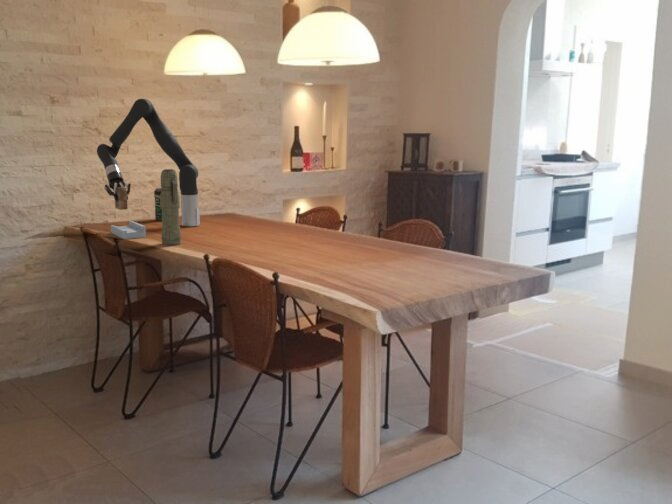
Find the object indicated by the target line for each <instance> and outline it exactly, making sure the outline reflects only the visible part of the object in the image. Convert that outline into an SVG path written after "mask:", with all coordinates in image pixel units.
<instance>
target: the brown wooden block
mask: <svg viewBox="0 0 672 504" xmlns="http://www.w3.org/2000/svg"><path fill="white" fill-rule="evenodd" d="M115 188H116V194H117V196H118V202H116V201H115V200H114V206H115V207H114V208H115V209H117V210H128V200H127V188H126V187H115Z"/></svg>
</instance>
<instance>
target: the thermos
mask: <svg viewBox="0 0 672 504" xmlns="http://www.w3.org/2000/svg"><path fill="white" fill-rule="evenodd" d="M160 188H161V189H162V190H161V195H160V207H161V209H162V221H161V227H162V228H161V231H160V232H161V235H160V236H161V240H162V241H161V243H162V245H163V246H167V247H169V246H170V247H171V246H180V245H181V244H182V242H181V240H182V230H181V227H180V212H179V211H180V210H179V209H180V208H181V207H180V206H181V201H180V194H179V190H178V174H177V172H176V170H175V169H172V168H171V169H170V168H168V169H163V170H161V173H160Z"/></svg>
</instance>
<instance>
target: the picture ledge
mask: <svg viewBox="0 0 672 504" xmlns="http://www.w3.org/2000/svg"><path fill="white" fill-rule="evenodd" d="M110 233H111V234H112V235H115V236H117V237H119V238H120V239H123V240H130V239H142V238H147V227H146V226H145V225H143V224H141V223H139V222H136V221H133V220H128V225H121V226H119V225H118V226H116V225H114V224H111V225H110Z"/></svg>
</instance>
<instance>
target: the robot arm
mask: <svg viewBox="0 0 672 504" xmlns="http://www.w3.org/2000/svg"><path fill="white" fill-rule="evenodd" d="M142 118H143V119H144V120H145V122H146V123H147V125H148V126H149V128H150V130H151V132H152V134H153V137H154V139H155V141H156V143H157V144H158V145H159V147H160V149H161V150H162V151H163V152H164V153H165V154H166V155H167V156H168V157H169V158H170V160H172V161H173V162H174V163H175V165H176V166H177V168H178V169H179V172H178V183H179V190H180V206H181V207H180V208H181V209H180V211H181V226H182V227H198V226H200V224H201V222H200V221H201V219H200V207H199V190H198V186H197V185H198V184H197V178H198V177H199V169H198V168H197V167H196V166H195V164H194V163H193V162H192V161H191V160H190V158H188V156H187V155H186V153H185V152H184V150H183V148H182V147H181V144H180V143H179V142H178V140H177V138H176V137H175V135H174V134H173V133H172V131H171V130H170V129H169V128H168V126H167V125H166V123H164V121H163V120H162V118H161V117H160V116H159V113H158V112H157V110H156V109H155V107H154V104H153V103H152V102H151V101H150V100H149V99H147V98H138V99H137V100H136V99H135V101H134V103H133V105H132V106H131V108H130V110H129V112H128V114H127V115H126V116H125V118H124V119H123V120H122V121H121V123H120V124H119V126H118V127H117V128H116V129H114V130H115V131H114V132H113V133H112V134H111V136H110V137H109V142H110V143H111V145H108V144H106V143H101V144H99V145H98V146H97V148H96V153H97V154H96V155H97V156H98V158H99V159H100V162H101V163H102V164H103V167H104V170H105V171H104V172H105V175H106V178H107V179H106V180H107V181H108V184H105V185H104V186H103V187H104V190H105V191H106V193H107V194H108V195H109V196H113V198H114V202H115V201H116V202H118V196H117V194H116V188H115V187H124V188H126V191H127V201H129V195H130V193H131V186H132V185H131V183H130V182H129V183H126V182H125V180H124V178H123V177H124V176H123V175H122V172H121V169H120V167H119V164H118V161H117V159H116V158H117V156H118V153H119V152H120V150H121V147H122V145H123V144H124V143H125V141H127V139H128V137H129V136H130V134H131V133H132V131H133V129H134V127H135V126H136V125H137V123H138V122H139V121H140V120H141V119H142Z"/></svg>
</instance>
